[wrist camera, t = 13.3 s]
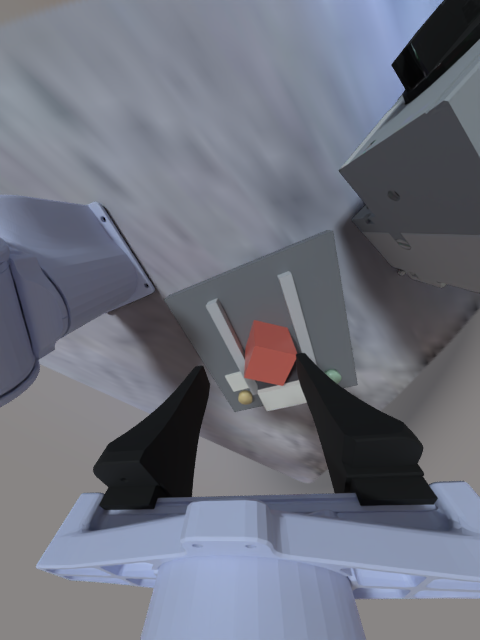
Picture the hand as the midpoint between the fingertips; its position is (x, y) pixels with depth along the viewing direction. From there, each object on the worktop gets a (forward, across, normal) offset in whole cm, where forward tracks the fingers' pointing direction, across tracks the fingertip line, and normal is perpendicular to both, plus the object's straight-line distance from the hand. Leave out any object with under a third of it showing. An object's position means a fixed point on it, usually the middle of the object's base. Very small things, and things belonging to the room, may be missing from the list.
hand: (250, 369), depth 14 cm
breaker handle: (+7, -3, +7) cm, 11 cm away
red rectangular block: (+8, -2, +2) cm, 8 cm away
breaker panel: (+9, -2, +4) cm, 10 cm away
